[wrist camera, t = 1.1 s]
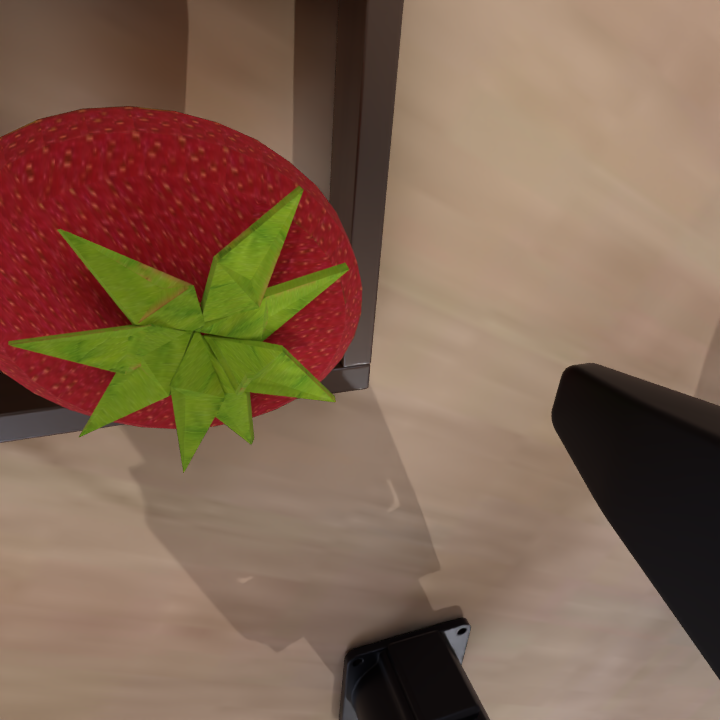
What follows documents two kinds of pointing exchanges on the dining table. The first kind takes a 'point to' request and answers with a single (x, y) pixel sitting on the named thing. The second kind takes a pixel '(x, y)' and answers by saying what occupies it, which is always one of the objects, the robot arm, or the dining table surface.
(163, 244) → the strawberry
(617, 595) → the dining table surface
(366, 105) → the brown divided wooden frame
